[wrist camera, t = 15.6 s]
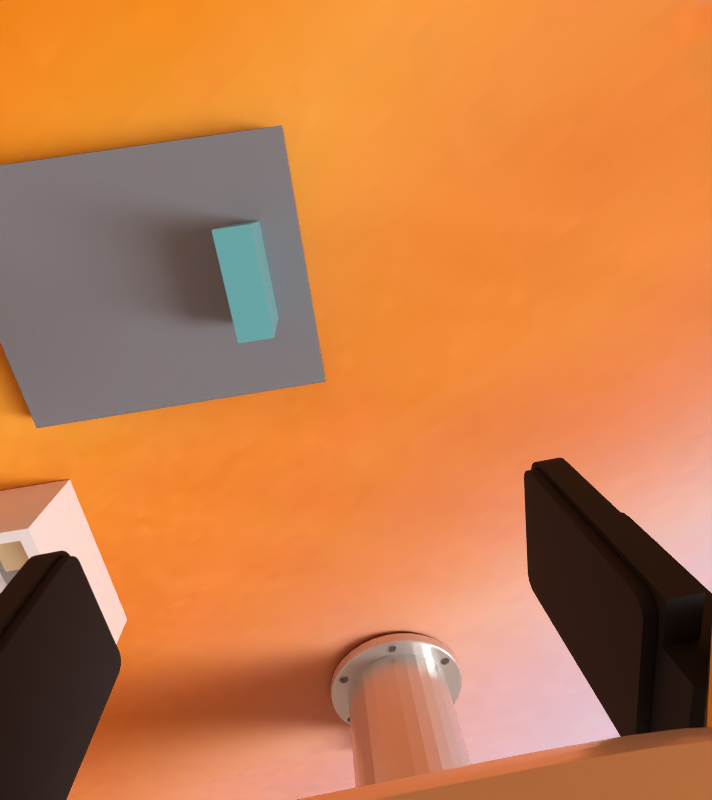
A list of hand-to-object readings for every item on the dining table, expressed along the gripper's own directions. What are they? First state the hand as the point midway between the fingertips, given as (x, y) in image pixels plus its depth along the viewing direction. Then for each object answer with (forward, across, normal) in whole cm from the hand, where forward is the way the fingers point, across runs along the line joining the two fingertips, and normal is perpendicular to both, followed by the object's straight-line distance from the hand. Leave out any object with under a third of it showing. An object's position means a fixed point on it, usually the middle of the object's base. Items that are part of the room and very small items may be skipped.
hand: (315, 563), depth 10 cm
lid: (+26, +9, -4) cm, 28 cm away
